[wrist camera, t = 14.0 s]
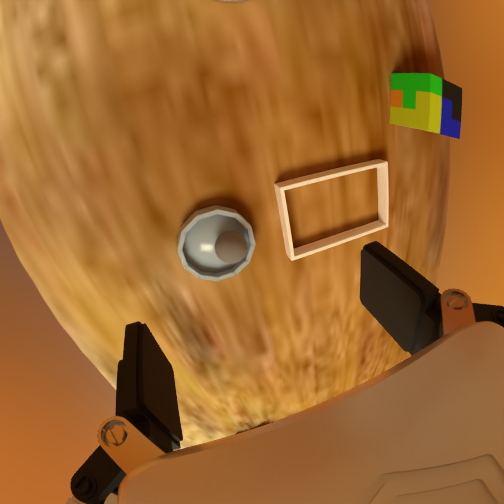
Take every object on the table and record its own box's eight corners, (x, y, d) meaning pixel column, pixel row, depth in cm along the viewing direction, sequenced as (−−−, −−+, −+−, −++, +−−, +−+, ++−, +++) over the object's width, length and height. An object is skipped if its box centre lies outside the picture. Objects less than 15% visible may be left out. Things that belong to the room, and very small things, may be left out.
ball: (204, 240, 42) (233, 243, 40) (222, 223, 45) (250, 225, 43) (212, 267, 45) (240, 272, 42) (229, 250, 48) (255, 253, 46)
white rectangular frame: (274, 183, 44) (279, 187, 42) (378, 158, 47) (387, 161, 45) (286, 254, 51) (291, 260, 49) (380, 221, 54) (388, 226, 52)
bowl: (167, 219, 42) (167, 225, 41) (242, 196, 44) (245, 200, 42) (190, 282, 48) (192, 289, 47) (257, 260, 50) (260, 267, 48)
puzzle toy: (422, 129, 47) (459, 139, 39) (389, 123, 45) (428, 130, 36) (424, 84, 42) (462, 88, 34) (390, 73, 40) (430, 73, 32)
